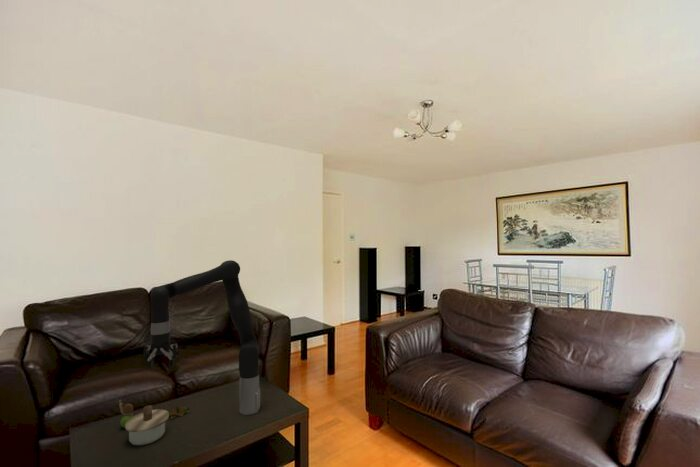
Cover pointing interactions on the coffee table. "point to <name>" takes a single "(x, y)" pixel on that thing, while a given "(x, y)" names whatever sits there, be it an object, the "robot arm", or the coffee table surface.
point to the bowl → (146, 435)
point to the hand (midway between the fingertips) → (161, 368)
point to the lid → (147, 419)
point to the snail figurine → (125, 413)
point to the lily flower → (181, 410)
